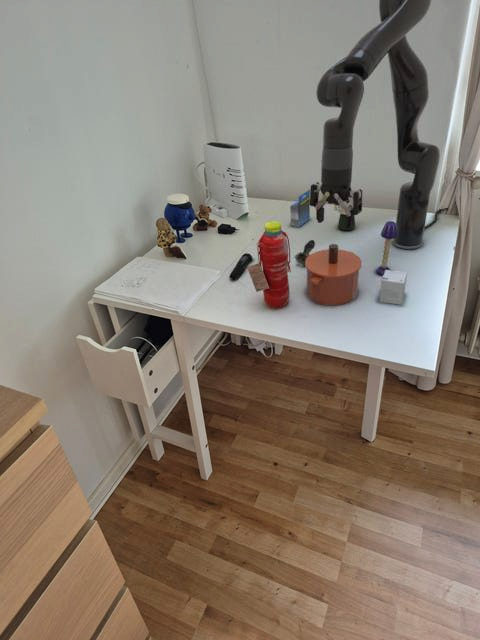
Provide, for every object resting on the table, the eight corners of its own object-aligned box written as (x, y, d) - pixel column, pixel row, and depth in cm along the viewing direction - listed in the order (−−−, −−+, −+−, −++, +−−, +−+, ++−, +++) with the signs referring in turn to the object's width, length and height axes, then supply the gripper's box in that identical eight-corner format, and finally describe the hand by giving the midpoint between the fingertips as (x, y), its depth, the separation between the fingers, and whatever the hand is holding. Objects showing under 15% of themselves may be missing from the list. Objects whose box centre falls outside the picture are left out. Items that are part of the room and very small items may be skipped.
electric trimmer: (226, 281, 141) (225, 273, 140) (243, 258, 153) (242, 250, 151) (237, 283, 140) (236, 274, 138) (253, 259, 151) (253, 251, 150)
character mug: (354, 221, 169) (356, 188, 161) (364, 228, 163) (367, 194, 156) (328, 227, 167) (329, 194, 159) (337, 235, 161) (339, 200, 153)
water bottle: (257, 316, 124) (250, 235, 109) (248, 302, 130) (241, 223, 116) (296, 306, 126) (295, 225, 112) (286, 292, 133) (283, 214, 118)
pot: (292, 300, 129) (291, 272, 124) (328, 270, 141) (328, 244, 135) (336, 315, 121) (337, 286, 115) (370, 283, 133) (372, 255, 127)
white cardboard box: (404, 294, 126) (407, 272, 122) (401, 305, 122) (404, 282, 118) (382, 291, 129) (385, 269, 124) (378, 302, 124) (381, 279, 120)
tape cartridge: (301, 217, 177) (301, 187, 169) (310, 219, 175) (310, 189, 167) (290, 226, 171) (289, 195, 164) (299, 228, 169) (298, 196, 162)
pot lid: (294, 270, 125) (293, 250, 122) (323, 248, 135) (323, 229, 131) (343, 285, 117) (344, 265, 113) (371, 260, 126) (373, 241, 122)
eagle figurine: (321, 263, 143) (320, 246, 149) (310, 249, 139) (308, 232, 145) (302, 273, 147) (301, 256, 153) (290, 260, 143) (289, 243, 149)
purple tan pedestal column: (392, 269, 138) (399, 219, 128) (391, 277, 134) (398, 226, 125) (376, 268, 139) (382, 219, 130) (375, 275, 136) (380, 225, 126)
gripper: (370, 163, 107) (365, 225, 117) (320, 156, 115) (319, 215, 125) (355, 172, 103) (351, 235, 112) (304, 164, 111) (304, 224, 120)
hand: (334, 224), depth 118 cm, fingers open, 8 cm apart
